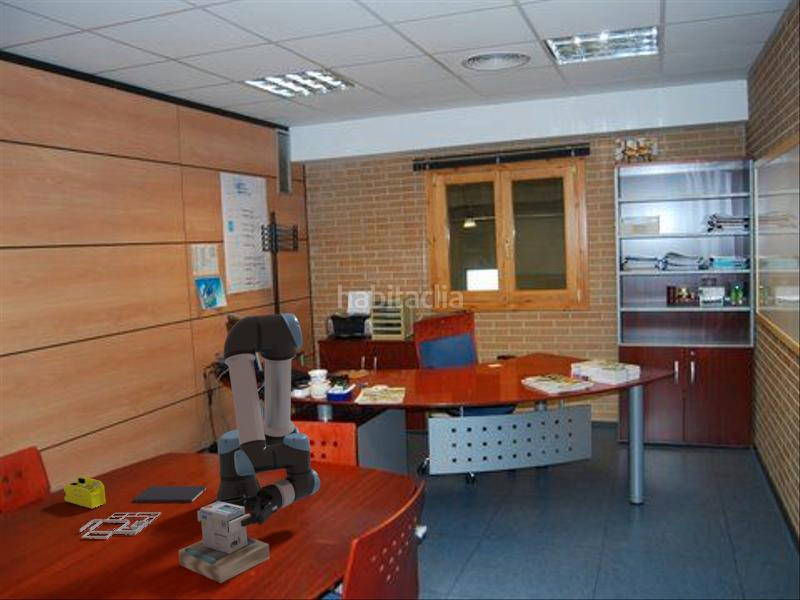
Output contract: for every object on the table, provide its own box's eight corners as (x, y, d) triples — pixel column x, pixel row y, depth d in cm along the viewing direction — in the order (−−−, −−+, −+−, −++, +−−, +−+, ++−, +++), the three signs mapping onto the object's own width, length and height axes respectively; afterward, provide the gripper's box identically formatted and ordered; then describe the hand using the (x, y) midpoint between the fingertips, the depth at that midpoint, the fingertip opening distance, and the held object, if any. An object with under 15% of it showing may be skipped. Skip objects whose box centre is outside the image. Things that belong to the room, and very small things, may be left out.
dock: (179, 564, 182) (178, 546, 182) (228, 542, 195) (227, 525, 194) (220, 583, 171) (219, 563, 171) (269, 558, 184) (268, 539, 183)
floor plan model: (59, 550, 196) (58, 543, 196) (107, 515, 221) (106, 509, 221) (119, 551, 194) (119, 544, 194) (161, 516, 219) (160, 510, 218)
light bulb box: (248, 544, 183) (245, 506, 182) (229, 554, 177) (226, 515, 176) (221, 537, 189) (218, 499, 188) (202, 546, 183) (199, 507, 182)
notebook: (132, 503, 231) (192, 503, 228) (132, 499, 231) (191, 499, 228) (150, 490, 243) (207, 490, 241) (150, 486, 243) (207, 485, 240)
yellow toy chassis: (107, 505, 229) (105, 481, 229) (91, 511, 225) (89, 486, 224) (79, 497, 238) (77, 474, 237) (64, 503, 233) (62, 479, 233)
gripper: (305, 518, 189) (244, 546, 172) (248, 500, 205) (187, 525, 188) (303, 491, 188) (242, 518, 172) (246, 476, 204) (185, 498, 187)
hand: (213, 521), depth 180 cm, fingers open, 13 cm apart
